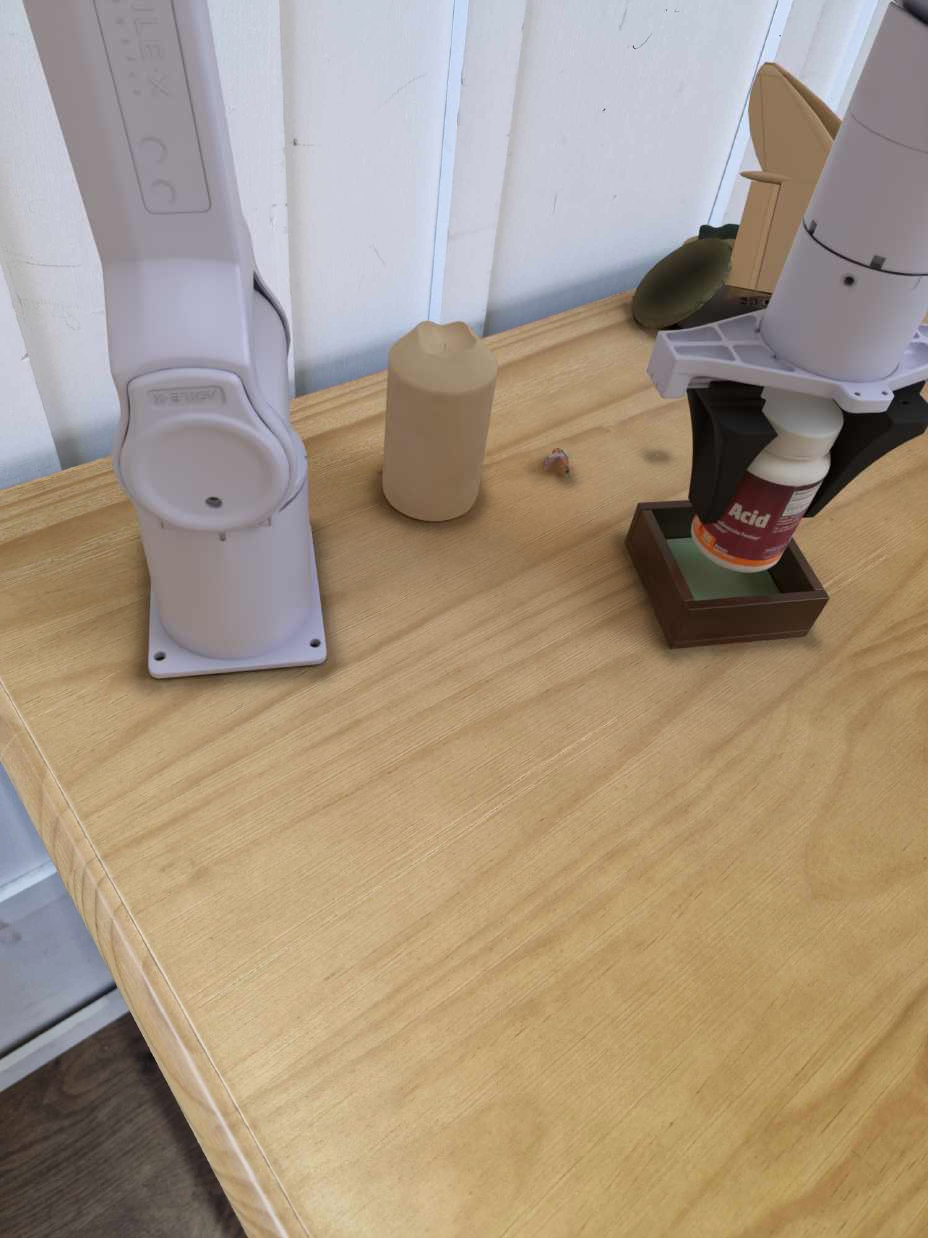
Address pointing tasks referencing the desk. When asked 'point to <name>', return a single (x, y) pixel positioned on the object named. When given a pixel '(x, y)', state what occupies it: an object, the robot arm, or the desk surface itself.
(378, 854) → the desk surface
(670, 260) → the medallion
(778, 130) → the toy
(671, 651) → the desk surface
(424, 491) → the candle
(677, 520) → the dark brown square box
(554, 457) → the figurine
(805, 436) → the pill bottle
